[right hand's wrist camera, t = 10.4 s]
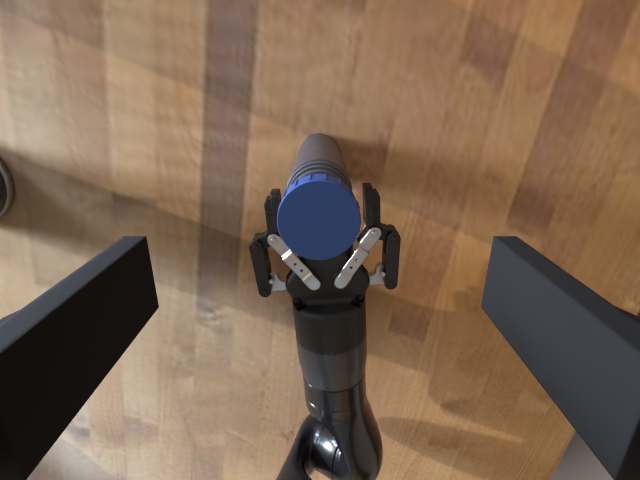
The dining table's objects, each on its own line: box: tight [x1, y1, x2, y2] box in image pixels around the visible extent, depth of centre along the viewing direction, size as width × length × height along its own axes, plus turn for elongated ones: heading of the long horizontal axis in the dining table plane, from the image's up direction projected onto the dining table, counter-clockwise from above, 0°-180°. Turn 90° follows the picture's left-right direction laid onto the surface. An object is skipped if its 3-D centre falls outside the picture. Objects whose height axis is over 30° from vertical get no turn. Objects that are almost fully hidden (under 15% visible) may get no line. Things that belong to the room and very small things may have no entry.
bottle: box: [286, 134, 352, 189], centre depth 29 cm, size 4×4×23 cm
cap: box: [277, 173, 361, 260], centre depth 19 cm, size 4×4×2 cm
